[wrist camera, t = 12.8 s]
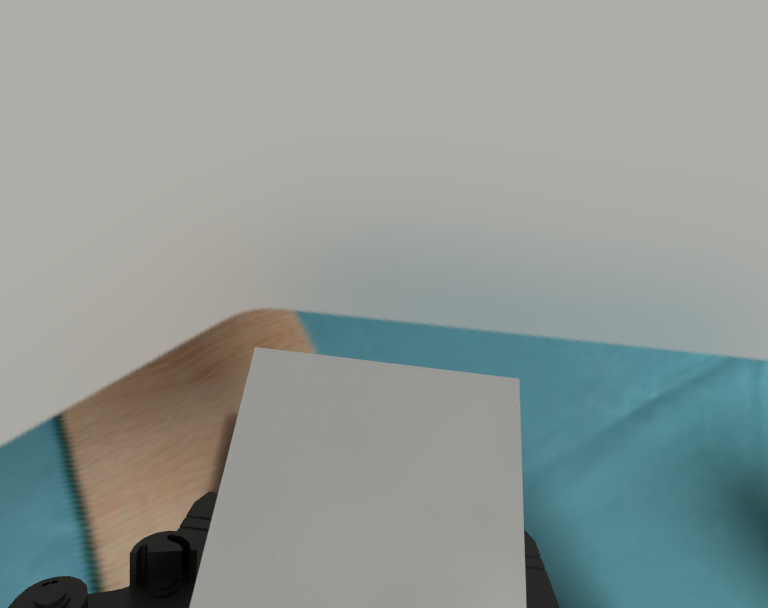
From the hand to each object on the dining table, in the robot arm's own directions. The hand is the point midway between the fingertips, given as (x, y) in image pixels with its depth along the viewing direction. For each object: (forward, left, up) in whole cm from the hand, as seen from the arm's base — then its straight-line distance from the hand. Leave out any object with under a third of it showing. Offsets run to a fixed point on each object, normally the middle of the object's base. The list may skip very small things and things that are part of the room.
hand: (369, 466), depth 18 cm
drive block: (0, -4, -3) cm, 5 cm away
